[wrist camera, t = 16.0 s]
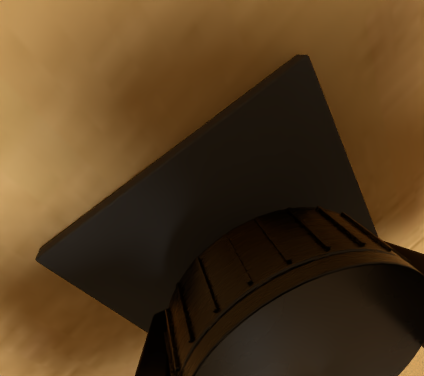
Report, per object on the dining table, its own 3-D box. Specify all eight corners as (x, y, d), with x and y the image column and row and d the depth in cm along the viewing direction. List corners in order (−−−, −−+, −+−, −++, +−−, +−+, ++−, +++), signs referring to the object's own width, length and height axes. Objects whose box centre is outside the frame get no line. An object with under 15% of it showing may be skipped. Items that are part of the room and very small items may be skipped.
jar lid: (400, 199, 8) (487, 246, 6) (333, 351, 11) (378, 416, 9) (169, 209, 6) (191, 282, 4) (159, 392, 9) (169, 486, 7)
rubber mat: (208, 362, 14) (212, 375, 13) (39, 248, 9) (33, 261, 8) (375, 244, 13) (385, 252, 13) (297, 53, 8) (309, 53, 8)
